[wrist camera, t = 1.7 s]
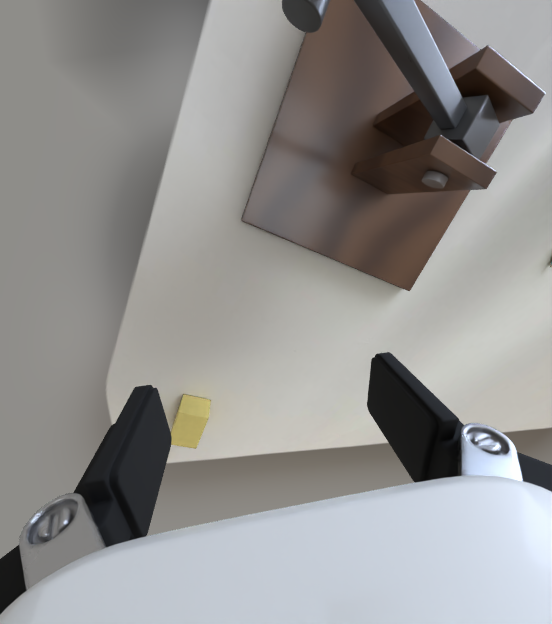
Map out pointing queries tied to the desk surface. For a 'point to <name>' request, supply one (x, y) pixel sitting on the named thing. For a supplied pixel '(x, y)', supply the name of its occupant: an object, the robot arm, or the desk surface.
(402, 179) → the slicer
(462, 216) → the desk surface
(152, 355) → the desk surface
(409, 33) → the lever
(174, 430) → the butter
